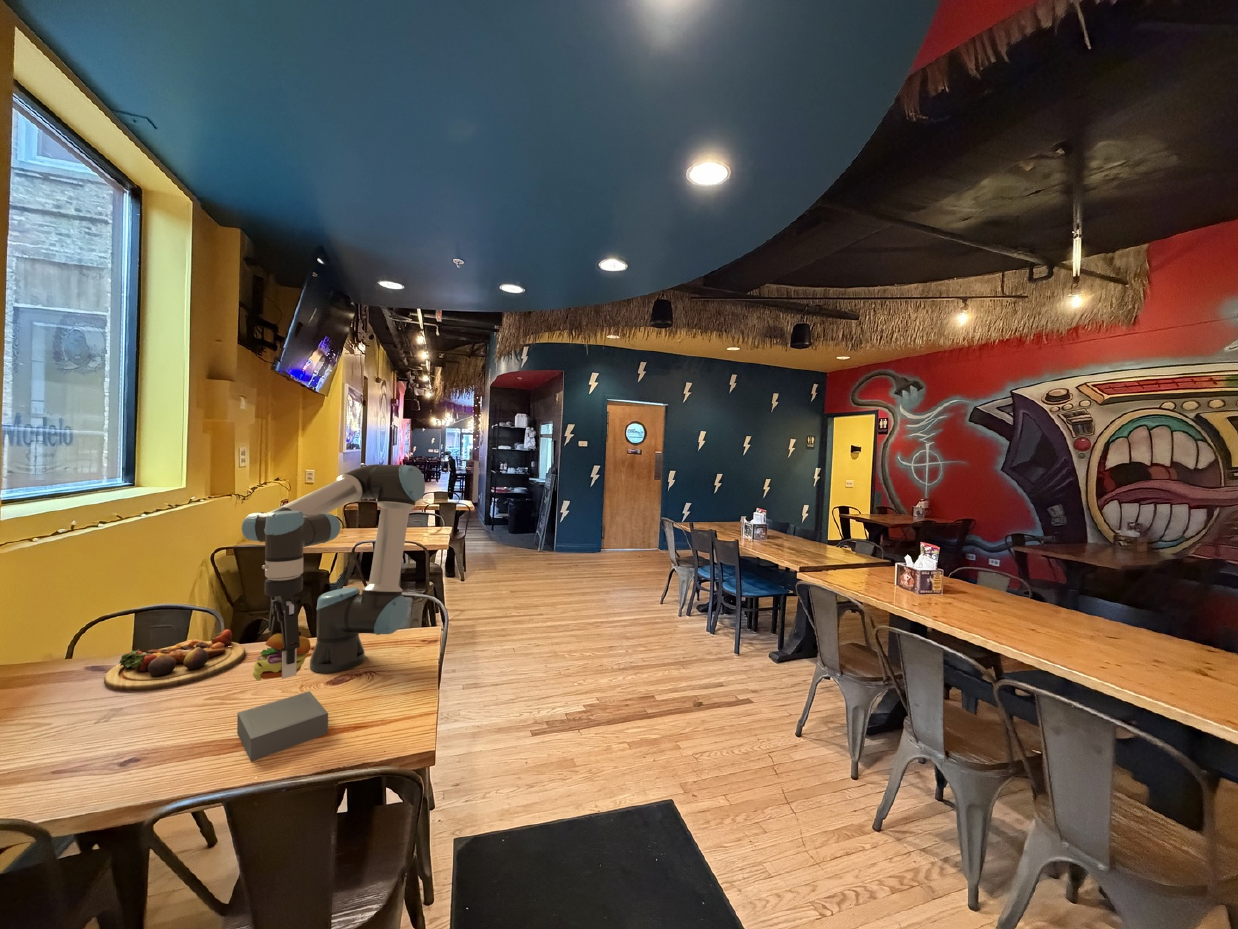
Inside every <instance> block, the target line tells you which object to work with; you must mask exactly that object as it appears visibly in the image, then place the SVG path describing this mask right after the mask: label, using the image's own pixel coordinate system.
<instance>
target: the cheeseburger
mask: <svg viewBox="0 0 1238 929" xmlns="http://www.w3.org/2000/svg"><path fill="white" fill-rule="evenodd" d="M299 642H300V647H299V648H297V665H296V674H297V673H298V672H299V671H300V670H301V668H302V666H303V665H304V662H305V660H306V657H307V654H309V653H310V651H311V641H310V640H309V638H308V637H306V636H301V635H299ZM291 644H293V643H291ZM265 645H266V646H267V649H262V650H261V652H260V655H259V656H257V657H256V662H255V663H254V665H253V669H254V670H253V672H252V676H253V678H254V679H255V680H256V681H258V682H259V681H261V680H269V679H272V680H273V679H278V678H282V652H280V649H282V648H283V638H282V634H275V635H273V636H270V637H269V638H268V639H267V641H266V642H265ZM271 647H272V648H271Z"/></svg>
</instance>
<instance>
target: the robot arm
mask: <svg viewBox="0 0 1238 929" xmlns="http://www.w3.org/2000/svg"><path fill="white" fill-rule="evenodd" d="M425 490H426V483H425V478H424V475H423V473H422V471H421V470H420V469H419V468H418V467H417V466H415V465H406V464H377V463H376V464H375V463H374V464H369V465H368V464H367V465H364V466H360V467H358V468H355V469H353V470H350V471H347V472H344V473H343V474H341V475H339V476H338V477H336V478H335V480H334V482H331V483H329V484H327V485H325V486H323V487H320V488H317V490H313V491H312V492H310V493H308V494H305V495H303V496H302V497H299V498H297V499H294V500H293V501H290V502H288V503H286V504H284V505H281V506H280V507H278V508H276V509H273V510H271V511H268V512H263V511H259V512H252V513H250V514H248V515H247V516H246V517H245V518H244V519H243V521H242V522H241V523H242V524H241V533H242V535H243V537H244V538H245V539H246V540H248V541H251V542H259V543H264V549H265V550H264V552H265V553H264V555H265V557H264V563H265V564H263V565H261V568H262V570H264V576H265V577H266V579H265V580H264V595H266V596H268V597H270V609H269V618H268V619H269V620H268V632H269V635H270V637H272V636H273V635H275V634H282V638H283V648H282V649H280V652H282V677H281V679H282V680H283V679H287V678H292V677H295V676H297V673H296V665H297V648H299V647H300V642H299V636H300V628H299V611H298V610H299V604H298V603H296V600H294V597H293V596H295V595H296V594H299V593H300V592H302V591H303V590H304V577H303V575H302V574H303V573H304V548H306V547H310V546H315V545H320V544H325V543H328V542H329V541H333V540H335V539H336V538H337V537H338V536H339V534H340V532H341V522H340V520H339V518H338V517H337V516H336V515H334V514H332V513H330V512H332V511H335V510H336V509H338V508H340V507H342V506H344V505H345V504H347V503H348V504H350V503H351V504H352V503H355V502H358V501H359V500H366V499H370V500H371V499H373V500H375V499H376V504H377V506H379V508H380V513H379V519H378V525H377V526H378V527H377V530H376V531H377V532H376V538H375V544H374V549H373V557H372V563H371V568H370V569H371V570H370V575H369V580H368V584H366V586H364V587H363V588H362V591H360V588H359V587H357V586H356V587H355V586H353V587H344V588H343V587H342V588H339V589H338V588H337V589H334V590H329V591H327V592H324V593H322V594H321V595H319V596H318V598H317V602H316V603H317V605H316V609H315V610H316V643H315V645H314V648H313V651H312V654H311V657H310V659H309V669H310V670H311V672H315V673H318V674H320V673H321V674H330V673H331V674H332V673H338V672H343V671H347V670H350V669H352V668H355V667H357V666H358V665H361V664H362V663H363V662H364V661H365V652H366V651H365V649H364V646H363V644H362V641H361V638H360V634H370V635H371V634H373V635H376V636H380V635H392V634H393V633H395V632H397V631H398V630H399V629H400V628H401V626H402V625H403V624H404V622H405V620H406V617H407V614H408V609H409V604H408V599H407V598H406V597H404V595H403V589H402V588H401V587H400V585H399V582H400V576H401V570H402V563H403V561H402V560H403V556H404V550H405V549H404V548H405V542H406V536H407V529H408V522H409V518H410V516H409V515H410V511H411V510H413V509H414V508H415V507H416V502H419V501H420V500H422V499H423V497H424V495H425V493H426V492H425ZM265 577H264V578H265ZM360 592H361V593H360ZM291 643H293V644H291ZM270 648H272V647H270Z"/></svg>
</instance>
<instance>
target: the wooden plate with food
mask: <svg viewBox="0 0 1238 929" xmlns="http://www.w3.org/2000/svg"><path fill="white" fill-rule="evenodd" d="M232 640H233V632H232V631H231V629H223V630H222V631H220V632H219V631H218V633H216V634H215V635H214V636H212V637H211V638H210V640H209V641H208V640H201V639H198V638H195V639H194V638H193V639H188V640H185V641H183V642H179V643H176V644H175V645H172V646H168V647H167V646H166V647H163V648H159V649H154V648H153V649H148V650H146V651H145V653H143V651H141V650H140V648H138V649H137V650H131V651H128V652H127V653H123V655H121V658H120V660H119V662H118V664H116V665H115V666H113V667H112V668H111V669H110V670H108V672H107V673H105V676H103V677H104V678H103V682H104V684H105V686H106V687H107V688H109V689H112V690H114V691H120V692H131V693H132V692H147V691H157V690H163V689H168V688H175V687H178V686H183V685H187V684H190V683H194V682H197V681H201V680H203V679H206V678H210V677H213V676H215V675H218V674H220V673H222V672H225V671H227V670H229V669H230V668H232V667H234V666H235V665H237V664H238V663H240V661H242V659H243V658H244V657H245V655H246V649H245V647H244V646H243V645H242V644H240V643H238V642H234V641H232ZM228 646H232V647H228Z"/></svg>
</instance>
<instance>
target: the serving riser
mask: <svg viewBox="0 0 1238 929" xmlns="http://www.w3.org/2000/svg"><path fill="white" fill-rule="evenodd" d="M236 718H237V725H236V726H237V727H236V728H237V729H236V730H237V731H236V732H237V736H238V737H239V740H240V742H241V744H242V746H243V748H244V751H245V752H246V755H247V756H248V760H249V761H250V762H253V761H257V760H259V759H262V758H264V757H268V756H270V755H273V754H276V753H279V752H281V751H284V750H287V749H289V748H292V747H295V746H298V745H302V744H304V743H305V742H308V741H311V740H314V739H317V738H320V737H323V736H325V735H328V734H329V712H328V711H327V710H326V709H325V708H324V707H323V705H322V704H321V702H320V701H319V700H318V699H317V698H316V697H315V696H314V695H313V693H312V692H311V691H310V690H309V691H304V692H302V693H299V694H295V695H291V696H288V697H286V698H282V699H278V700H275V701H272V702H268V703H264V704H263V705H259V706H255V707H251V708H248V709H245V710H241V711H238V712H237V716H236Z"/></svg>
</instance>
